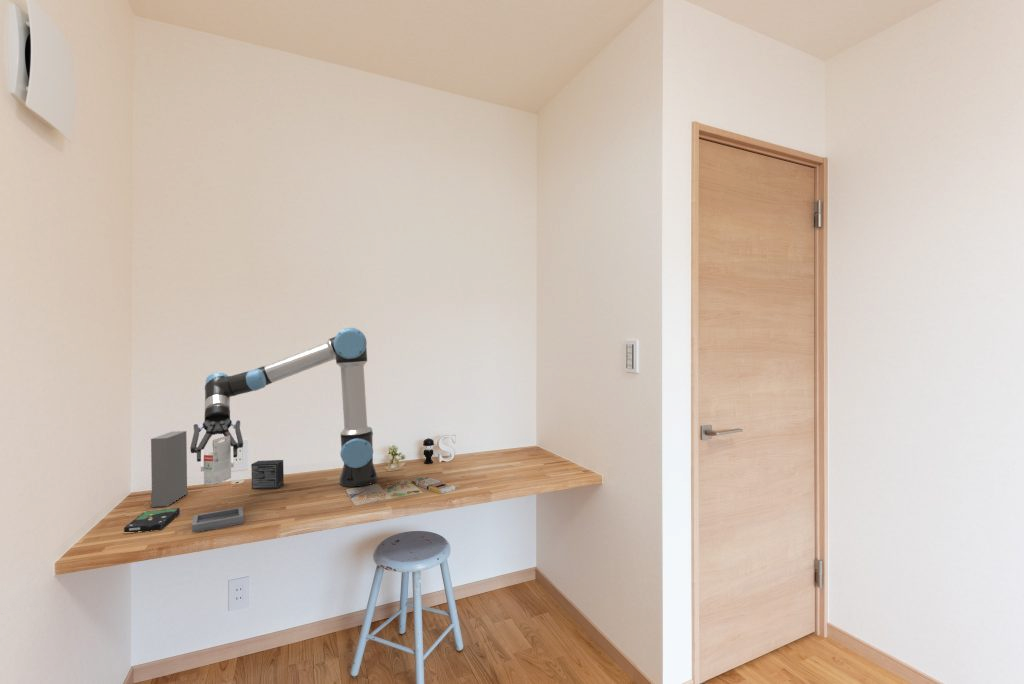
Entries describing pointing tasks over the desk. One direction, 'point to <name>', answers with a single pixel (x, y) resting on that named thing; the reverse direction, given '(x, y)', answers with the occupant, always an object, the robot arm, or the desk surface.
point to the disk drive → (152, 520)
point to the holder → (217, 519)
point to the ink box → (218, 462)
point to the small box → (267, 474)
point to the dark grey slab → (168, 468)
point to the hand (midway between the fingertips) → (217, 467)
